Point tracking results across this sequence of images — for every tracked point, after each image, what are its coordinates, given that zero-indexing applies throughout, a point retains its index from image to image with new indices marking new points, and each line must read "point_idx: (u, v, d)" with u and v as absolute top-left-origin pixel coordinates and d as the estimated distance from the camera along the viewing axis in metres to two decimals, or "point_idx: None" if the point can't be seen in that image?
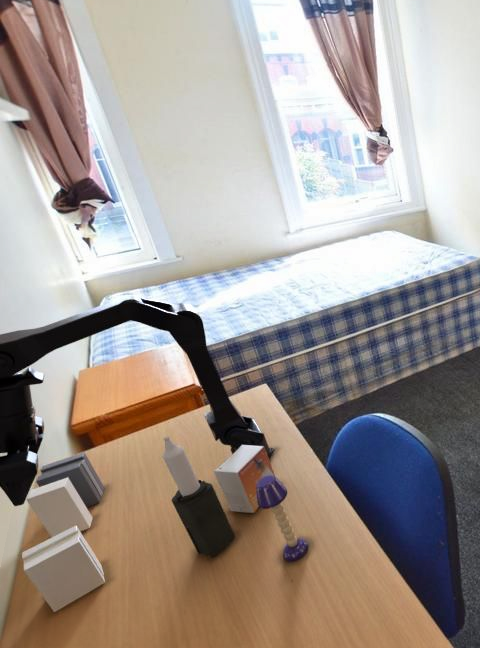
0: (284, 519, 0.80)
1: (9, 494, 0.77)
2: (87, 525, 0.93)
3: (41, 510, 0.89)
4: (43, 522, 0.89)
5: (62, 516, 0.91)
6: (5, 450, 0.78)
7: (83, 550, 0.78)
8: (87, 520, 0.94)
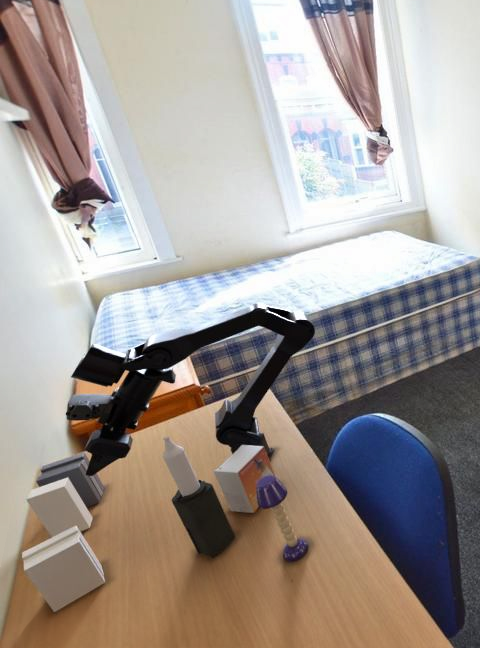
0: (284, 519, 0.80)
1: (91, 463, 0.87)
2: (87, 525, 0.93)
3: (41, 510, 0.89)
4: (43, 522, 0.89)
5: (62, 516, 0.91)
6: (112, 425, 0.89)
7: (83, 550, 0.78)
8: (87, 520, 0.94)
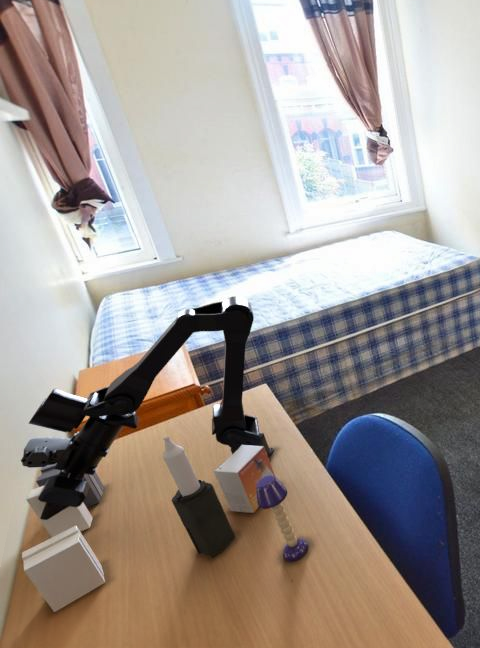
0: (284, 519, 0.80)
1: (46, 508, 0.86)
2: (87, 525, 0.93)
3: (41, 510, 0.89)
4: (43, 522, 0.89)
5: (62, 516, 0.91)
6: (69, 470, 0.88)
7: (83, 550, 0.78)
8: (87, 520, 0.94)
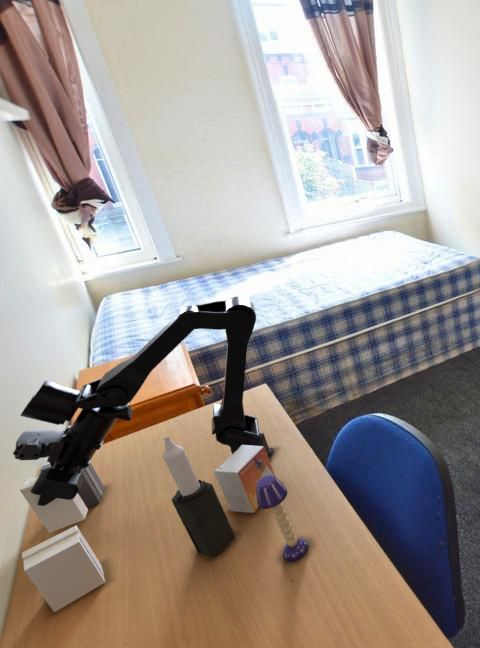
0: (284, 519, 0.80)
1: None
2: (82, 516, 0.92)
3: (35, 501, 0.88)
4: (37, 513, 0.88)
5: (57, 507, 0.90)
6: (63, 463, 0.87)
7: (83, 550, 0.78)
8: (82, 512, 0.93)
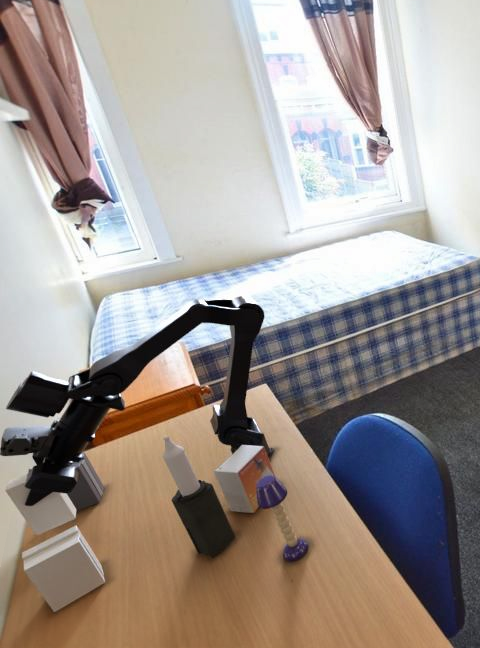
0: (284, 519, 0.80)
1: (32, 492, 0.82)
2: (73, 516, 0.88)
3: (22, 501, 0.83)
4: (24, 515, 0.83)
5: (45, 507, 0.85)
6: (54, 458, 0.83)
7: (83, 550, 0.78)
8: (72, 511, 0.88)
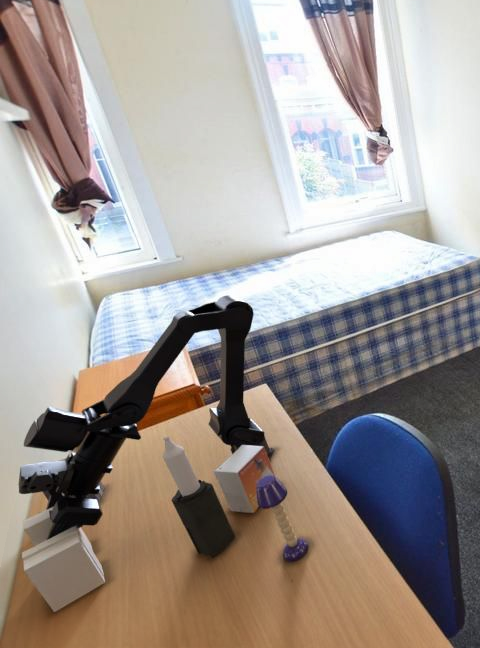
0: (284, 519, 0.80)
1: (52, 534, 0.81)
2: None
3: (40, 539, 0.82)
4: None
5: None
6: (73, 492, 0.83)
7: (83, 550, 0.78)
8: (89, 545, 0.88)
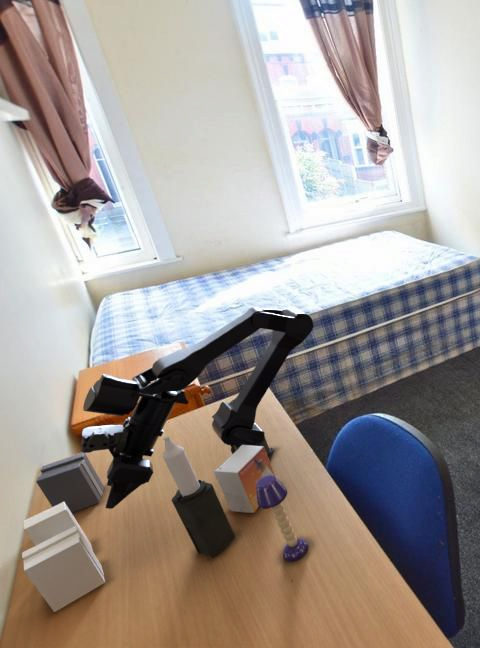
0: (284, 519, 0.80)
1: (111, 494, 0.85)
2: None
3: (40, 539, 0.82)
4: None
5: None
6: (129, 453, 0.88)
7: (83, 550, 0.78)
8: (89, 545, 0.88)
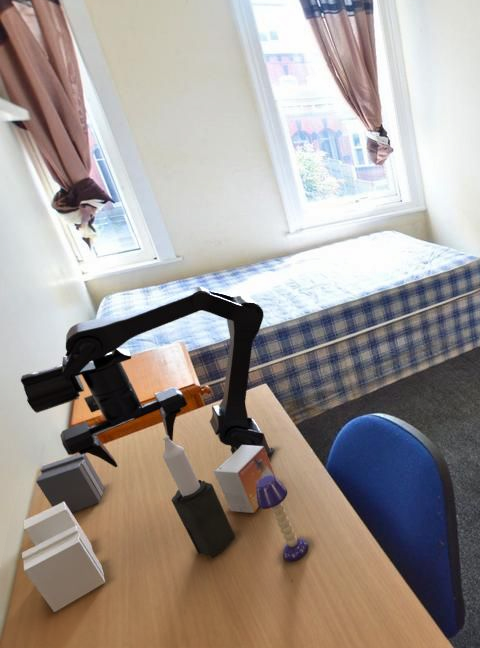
0: (284, 519, 0.80)
1: None
2: None
3: (40, 539, 0.82)
4: None
5: None
6: None
7: (83, 550, 0.78)
8: (89, 545, 0.88)
